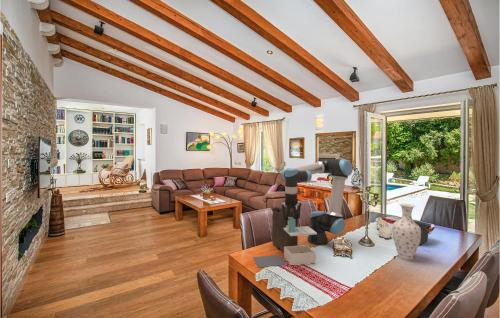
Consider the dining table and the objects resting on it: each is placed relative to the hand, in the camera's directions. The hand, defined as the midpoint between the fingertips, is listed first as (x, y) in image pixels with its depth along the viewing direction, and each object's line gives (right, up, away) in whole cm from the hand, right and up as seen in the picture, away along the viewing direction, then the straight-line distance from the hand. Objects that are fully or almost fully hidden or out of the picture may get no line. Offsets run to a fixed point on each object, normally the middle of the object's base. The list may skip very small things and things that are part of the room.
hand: (290, 229), depth 152 cm
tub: (+5, -20, +2) cm, 21 cm away
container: (-1, -19, +21) cm, 28 cm away
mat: (-14, -20, 0) cm, 24 cm away
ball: (+8, -19, +4) cm, 21 cm away
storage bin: (+104, -20, +34) cm, 111 cm away
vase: (+77, -21, +7) cm, 80 cm away
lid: (+6, -2, +1) cm, 6 cm away
